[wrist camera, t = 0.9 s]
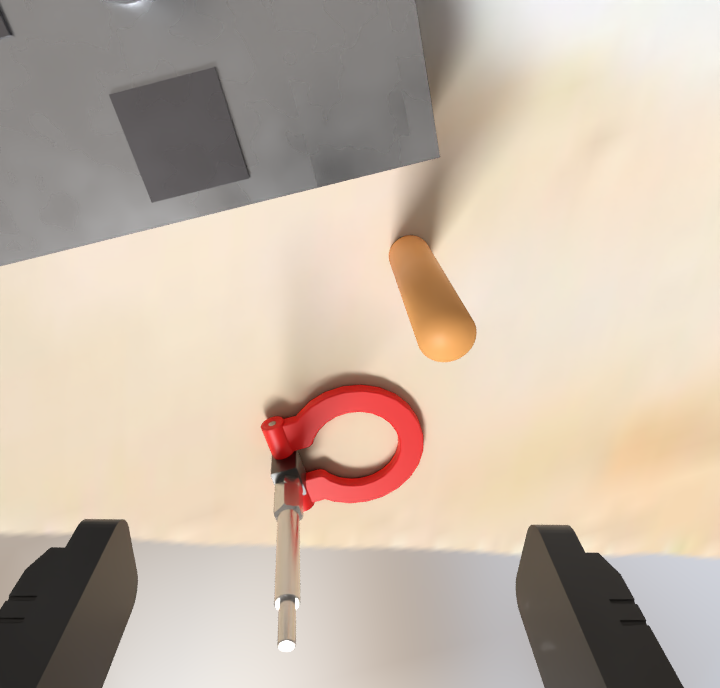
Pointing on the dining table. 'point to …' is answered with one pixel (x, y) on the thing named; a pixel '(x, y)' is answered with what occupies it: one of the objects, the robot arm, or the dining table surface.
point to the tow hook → (327, 478)
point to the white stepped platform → (196, 109)
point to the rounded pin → (431, 301)
